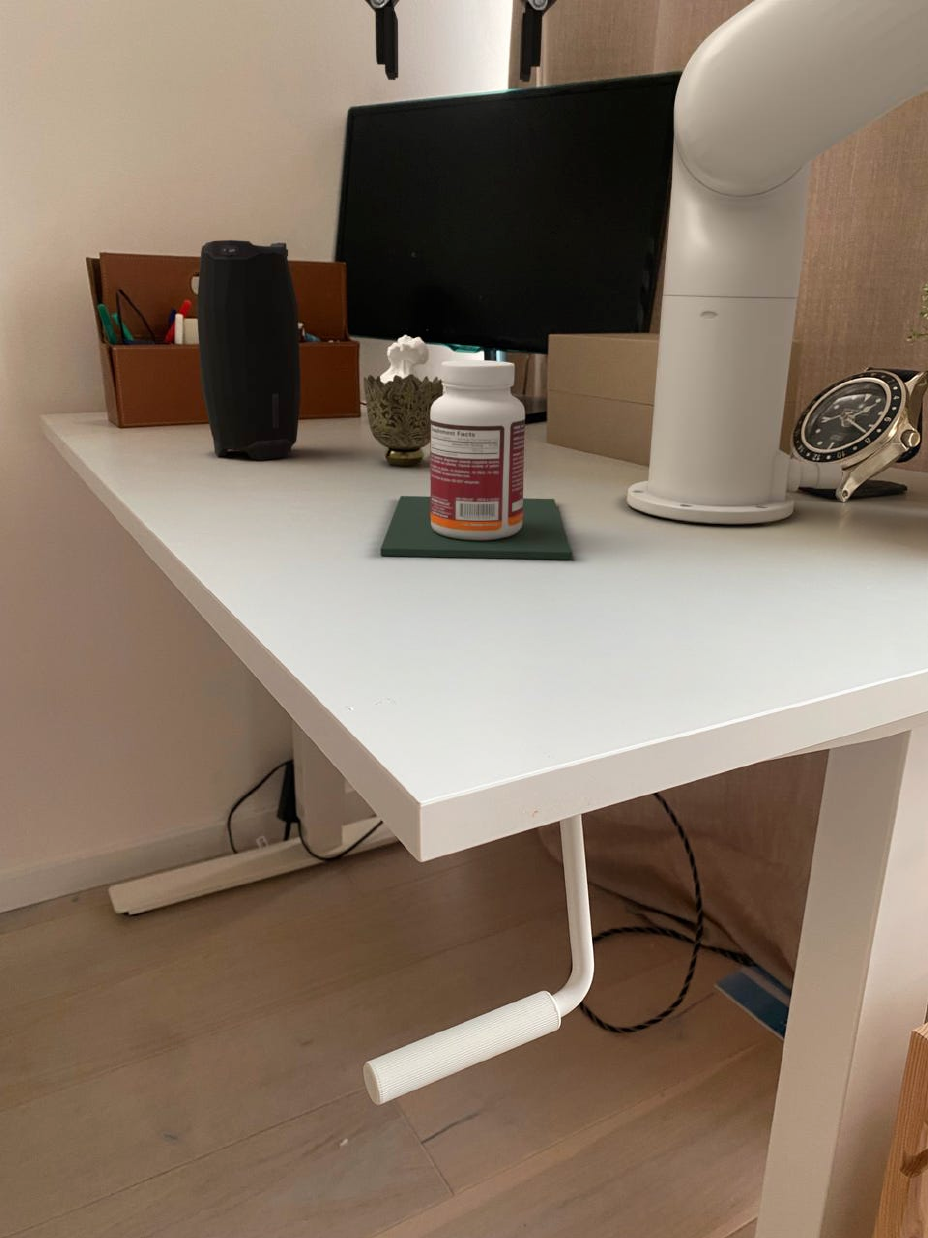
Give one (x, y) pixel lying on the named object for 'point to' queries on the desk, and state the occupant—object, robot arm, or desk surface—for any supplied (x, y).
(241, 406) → the portable speaker
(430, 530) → the desk mat
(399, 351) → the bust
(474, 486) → the pill bottle
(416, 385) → the cup
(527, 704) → the desk surface
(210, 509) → the desk surface
